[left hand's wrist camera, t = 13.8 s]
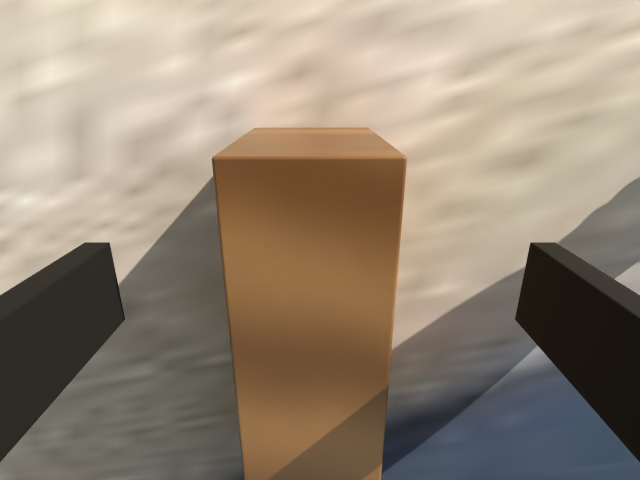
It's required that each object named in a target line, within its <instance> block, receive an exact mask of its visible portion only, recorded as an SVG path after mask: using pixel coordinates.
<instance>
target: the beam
mask: <svg viewBox="0 0 640 480" xmlns="http://www.w3.org/2000/svg"><path fill="white" fill-rule="evenodd" d="M406 164H407V158H406V156H405V155H403V154H402V153H401V152H399V151H398V150H397V149H395V148H394V147H393V146H391V145H390V144H389V143H387V142H386V141H385V140H384V139H382V138H381V137H380V136H378V135H377V134H376V133H374V132H373V131H372V130H370V129H369V128H254V129H253V130H251V131H250V132H248V133H247V134H245V135H244V136H242V137H241V138H239V139H238V140H237V141H235V142H234V143H232V144H231V145H229V146H228V147H226V148H225V149H224V150H222V151H221V152H219V153H218V154H216V155H215V156H213V158H212V165H213V175H214V185H215V195H216V205H217V215H218V225H219V235H220V244H221V254H222V264H223V274H224V284H225V294H226V304H227V314H228V324H229V334H230V344H231V353H232V363H233V373H234V383H235V393H236V403H237V413H238V423H239V433H240V443H241V453H242V462H243V472H244V480H381V470H382V458H383V446H384V433H385V421H386V409H387V397H388V384H389V372H390V360H391V348H392V335H393V323H394V311H395V299H396V286H397V274H398V262H399V250H400V237H401V225H402V213H403V201H404V188H405V176H406Z"/></svg>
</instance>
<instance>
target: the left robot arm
mask: <svg viewBox="0 0 640 480" xmlns="http://www.w3.org/2000/svg"><path fill="white" fill-rule="evenodd" d="M124 320H125V317H124V312H123V307H122V302H121V297H120V292H119V287H118V283H117V278H116V273H115V268H114V263H113V258H112V253H111V248H110V243H84V244H82V245H80V246H79V247H77V248H76V249H74V250H72V251H71V252H69V253H67V254H66V255H64V256H63V257H61V258H59V259H58V260H56V261H55V262H53V263H51V264H50V265H48V266H47V267H45V268H43V269H42V270H40V271H39V272H37V273H35V274H34V275H32V276H31V277H29V278H27V279H26V280H24V281H23V282H21V283H19V284H18V285H16V286H15V287H13V288H11V289H10V290H8V291H7V292H5V293H3V294H2V295H0V462H1V461H2V459H3V458H4V457H5V456H6V455H7V454H8V453H9V451H10V450H11V449H12V448H13V447H14V446H15V445H16V443H17V442H18V441H19V440H20V439H21V438H22V437H23V435H24V434H25V433H26V432H27V431H28V430H29V429H30V427H31V426H32V425H33V424H34V423H35V422H36V421H37V419H38V418H39V417H40V416H41V415H42V414H43V413H44V411H45V410H46V409H47V408H48V407H49V406H50V405H51V403H52V402H53V401H54V400H55V399H56V398H57V397H58V395H59V394H60V393H61V392H62V391H63V390H64V388H65V387H66V386H67V385H68V384H69V383H70V382H71V380H72V379H73V378H74V377H75V376H76V375H77V374H78V372H79V371H80V370H81V369H82V368H83V367H84V366H85V364H86V363H87V362H88V361H89V360H90V359H91V358H92V356H93V355H94V354H95V353H96V352H97V351H98V350H99V348H100V347H101V346H102V345H103V344H104V343H105V342H106V340H107V339H108V338H109V337H110V336H111V335H112V334H113V332H114V331H115V330H116V329H117V328H118V327H119V325H120V324H121V323H122V322H123V321H124ZM515 320H516V321H517V322H518V323H519V324H520V325H521V327H522V328H523V329H524V330H525V331H526V332H527V334H528V335H529V336H530V337H531V338H532V339H533V340H534V342H535V343H536V344H537V345H538V346H539V347H540V348H541V350H542V351H543V352H544V353H545V354H546V355H547V356H548V358H549V359H550V360H551V361H552V362H553V363H554V364H555V366H556V367H557V368H558V369H559V370H560V371H561V372H562V374H563V375H564V376H565V377H566V378H567V379H568V380H569V382H570V383H571V384H572V385H573V386H574V387H575V388H576V390H577V391H578V392H579V393H580V394H581V395H582V397H583V398H584V399H585V400H586V401H587V402H588V403H589V405H590V406H591V407H592V408H593V409H594V410H595V411H596V413H597V414H598V415H599V416H600V417H601V418H602V419H603V421H604V422H605V423H606V424H607V425H608V426H609V427H610V429H611V430H612V431H613V432H614V433H615V434H616V435H617V437H618V438H619V439H620V440H621V441H622V442H623V443H624V445H625V446H626V447H627V448H628V449H629V450H630V451H631V453H632V454H633V455H634V456H635V457H636V458H637V459H638V461H639V462H640V295H638V294H637V293H635V292H633V291H632V290H630V289H629V288H627V287H625V286H624V285H622V284H621V283H619V282H617V281H616V280H614V279H613V278H611V277H609V276H608V275H606V274H605V273H603V272H601V271H600V270H598V269H597V268H595V267H593V266H592V265H590V264H589V263H587V262H585V261H584V260H582V259H581V258H579V257H577V256H576V255H574V254H573V253H571V252H569V251H568V250H566V249H564V248H563V247H561V246H560V245H558V244H556V243H530V248H529V253H528V258H527V263H526V268H525V273H524V278H523V283H522V287H521V292H520V297H519V302H518V307H517V312H516V317H515Z"/></svg>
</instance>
